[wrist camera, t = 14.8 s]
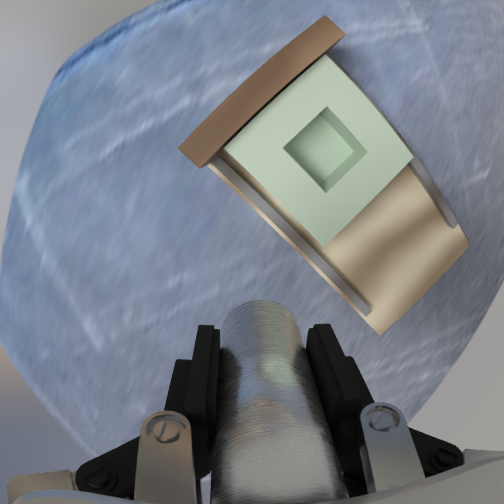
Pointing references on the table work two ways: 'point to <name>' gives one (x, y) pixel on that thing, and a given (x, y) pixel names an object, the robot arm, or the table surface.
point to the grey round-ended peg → (270, 415)
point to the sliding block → (321, 150)
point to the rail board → (364, 223)
